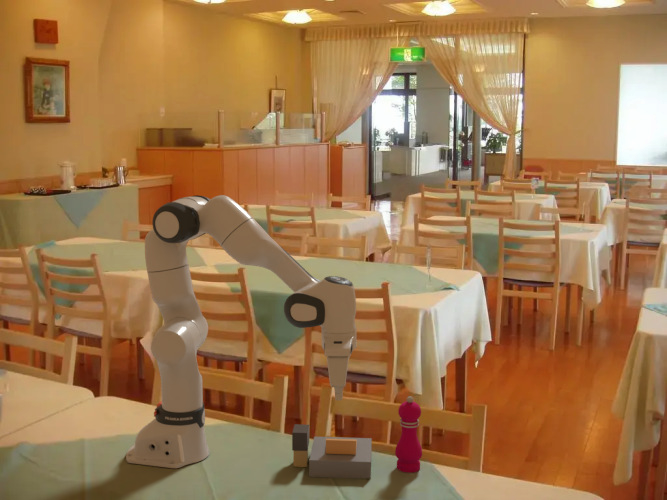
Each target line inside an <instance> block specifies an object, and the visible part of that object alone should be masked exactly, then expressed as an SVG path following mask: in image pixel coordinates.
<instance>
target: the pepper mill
mask: <svg viewBox="0 0 667 500" xmlns="http://www.w3.org/2000/svg"><path fill="white" fill-rule="evenodd" d="M397 413H398V415H399V418H400V419H399V421H400V423H399V425H400V427H401V433H400V434H401V435H400V437H399V440H398V442H397V444H396V446H395V453H394V454H395V456H396V458H397V460H396V469H397V470H398V471H400V472H401V473H402V472H403V473H407V474H409V473H417V472H418V471H420V469H421V461H420V460H421V458H422V457H423V448H422V445H421V442H420V441H419V438H418V432H417V430H418V427H419V425H420V423H419V422H420V420H419V418H420V417H421V416H422V409H421V406H420V404H419V403H417V402H415V401H414V397H413V396H411V395H410V396H409V395H408V396H407V397H406V401H404V402H402V403H400V405H399V407H398V411H397Z"/></svg>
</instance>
